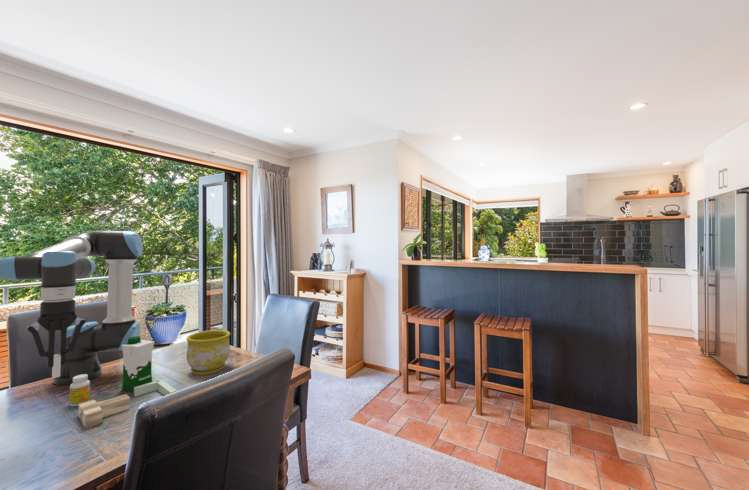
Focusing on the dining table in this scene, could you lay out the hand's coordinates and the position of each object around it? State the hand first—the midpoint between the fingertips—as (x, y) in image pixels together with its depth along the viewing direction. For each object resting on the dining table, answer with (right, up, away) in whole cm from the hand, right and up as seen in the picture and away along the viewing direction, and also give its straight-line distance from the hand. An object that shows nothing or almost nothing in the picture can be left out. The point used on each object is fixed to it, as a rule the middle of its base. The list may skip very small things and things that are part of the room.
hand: (56, 376), depth 94 cm
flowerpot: (+21, -18, +48) cm, 55 cm away
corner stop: (+15, -17, +22) cm, 32 cm away
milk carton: (+2, -18, +30) cm, 34 cm away
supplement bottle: (-9, -17, +17) cm, 26 cm away
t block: (+7, -17, +10) cm, 21 cm away
